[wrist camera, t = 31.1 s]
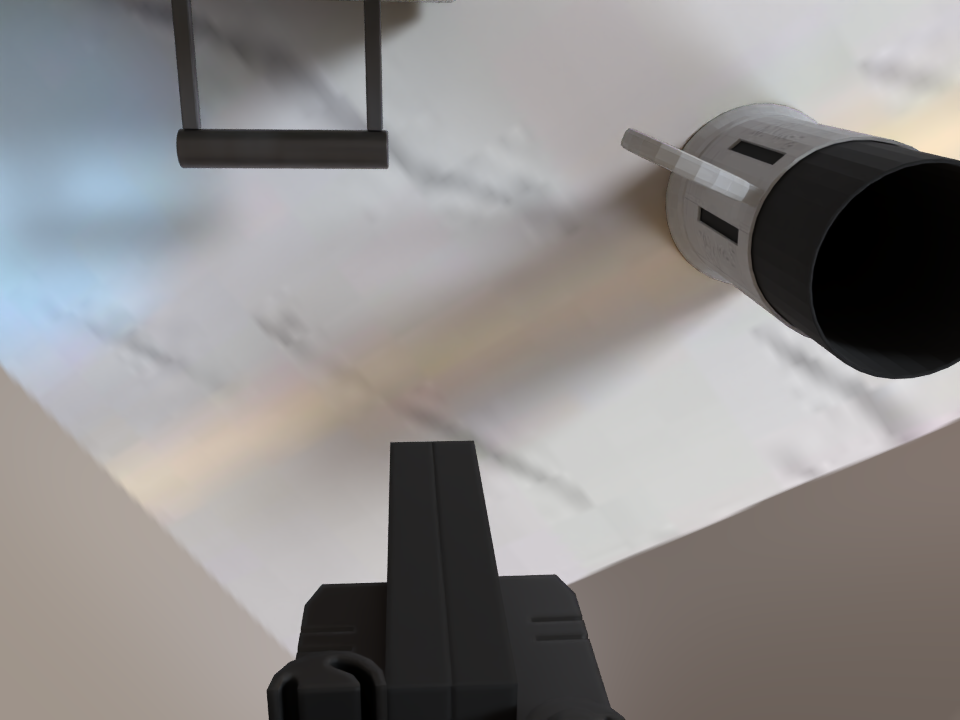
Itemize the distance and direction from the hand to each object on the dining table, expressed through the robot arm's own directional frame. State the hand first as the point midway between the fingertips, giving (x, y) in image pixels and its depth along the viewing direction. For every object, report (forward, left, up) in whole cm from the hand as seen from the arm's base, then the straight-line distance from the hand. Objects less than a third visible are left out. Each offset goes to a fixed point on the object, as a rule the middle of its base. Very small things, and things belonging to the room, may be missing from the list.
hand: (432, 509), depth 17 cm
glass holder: (-14, -2, -29) cm, 32 cm away
